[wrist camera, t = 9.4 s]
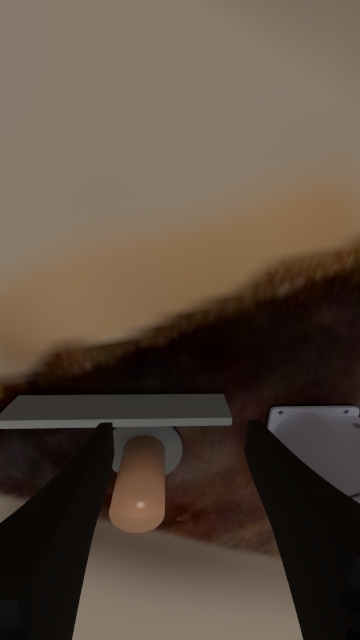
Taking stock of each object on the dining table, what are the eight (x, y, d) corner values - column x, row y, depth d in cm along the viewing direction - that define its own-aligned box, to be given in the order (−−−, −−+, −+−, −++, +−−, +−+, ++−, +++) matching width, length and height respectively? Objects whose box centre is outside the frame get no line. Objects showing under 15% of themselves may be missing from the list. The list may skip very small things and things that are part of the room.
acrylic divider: (223, 393, 24) (232, 417, 21) (222, 400, 24) (231, 425, 21) (18, 395, 23) (-7, 420, 20) (20, 402, 23) (-5, 428, 20)
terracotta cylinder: (165, 434, 24) (164, 492, 18) (165, 467, 26) (164, 531, 20) (121, 435, 24) (107, 494, 18) (123, 468, 25) (110, 533, 20)
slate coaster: (183, 414, 25) (183, 419, 24) (181, 473, 27) (181, 479, 26) (104, 415, 24) (102, 420, 23) (109, 475, 26) (107, 481, 26)
